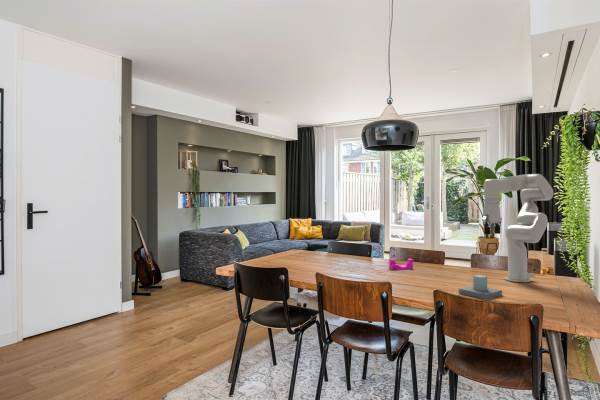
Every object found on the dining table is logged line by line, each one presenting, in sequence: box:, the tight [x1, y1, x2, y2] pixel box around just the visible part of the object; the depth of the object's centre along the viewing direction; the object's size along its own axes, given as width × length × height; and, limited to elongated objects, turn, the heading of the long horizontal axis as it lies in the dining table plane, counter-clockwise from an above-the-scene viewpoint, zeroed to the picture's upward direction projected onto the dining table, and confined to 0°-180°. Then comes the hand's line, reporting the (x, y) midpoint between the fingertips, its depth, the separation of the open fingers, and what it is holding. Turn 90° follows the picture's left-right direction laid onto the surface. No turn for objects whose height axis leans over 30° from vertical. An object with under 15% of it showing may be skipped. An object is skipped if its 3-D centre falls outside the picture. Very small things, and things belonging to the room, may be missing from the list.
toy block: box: [388, 258, 414, 271], centre depth 248 cm, size 15×6×8 cm, turn 94°
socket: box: [458, 285, 503, 300], centre depth 183 cm, size 14×14×2 cm
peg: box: [472, 274, 488, 291], centre depth 183 cm, size 4×4×9 cm
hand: (492, 233), depth 200 cm, fingers open, 9 cm apart
